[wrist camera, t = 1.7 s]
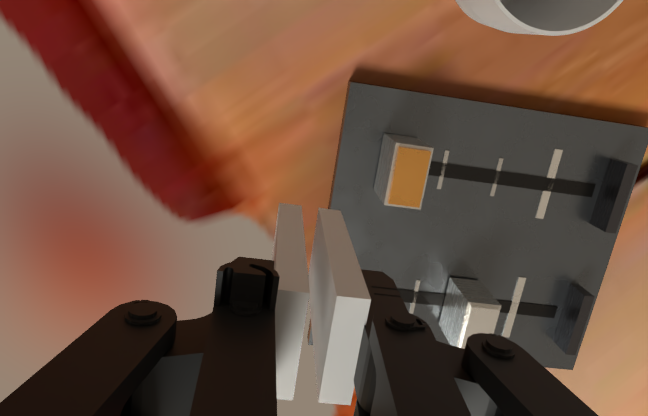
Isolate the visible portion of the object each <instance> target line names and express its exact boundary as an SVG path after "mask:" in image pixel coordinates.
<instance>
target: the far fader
mask: <svg viewBox="0 0 648 416" xmlns="http://www.w3.org/2000/svg"><path fill="white" fill-rule="evenodd" d="M500 309H501V304H500V303H499V302H498V301H497V300H496V299H495V297H494V296H493V295H492V294H491V293H490V292H489V290H488V289H487V288H486V287H485V286H484V285H483V283H482V282H481V281H479V280H470V279H461V278H452V277H450V279H449V283H448V287H447V291H446V296H445V300H444V304H443V308H442V312H441V316H440V321H439V326H440V327H441V329H442V331H443V333H444V335H445V336H446V338H447V340H448V342H449V343H450V345H452V346H456V347H459V348H463V349H465V346H466V342H467V338H468V337H469V336H471V335H472V334H477V333H486V334H489V333H492V334H494V331H495V327H496V324H497V320H498V317H499V313H500Z"/></svg>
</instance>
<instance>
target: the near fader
mask: <svg viewBox="0 0 648 416" xmlns="http://www.w3.org/2000/svg"><path fill="white" fill-rule="evenodd" d="M433 149H434V148H433V147H431V146H430V145H428V144H427V143H425V142H423V141H422V140H420V139H419V138H415V137H408V136H401V135H394V134H387V133H384V135H383V141H382V146H381V151H380V157H379V162H378V168H377V173H376V178H375V184H374V191H375V192H376V194H377V195H378V197H379V198H380V200H381V201H382V203H383V205H387V206H395V207H403V208H411V209H418V210H421V206H422V201H423V196H424V191H425V187H426V182H427V177H428V173H429V168H430V163H431V159H432V154H433Z"/></svg>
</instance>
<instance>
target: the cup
mask: <svg viewBox="0 0 648 416" xmlns="http://www.w3.org/2000/svg"><path fill="white" fill-rule="evenodd" d="M455 1H456V2H457V4H458V5H459V6H460V8H461V9H462V10H463V11H464V12H465V13H466V14H467V15H468V16H469V17H470V18H472V19H473V20H475V21H477V22H479V23H481V24H484V25H487V26H490V27H493V28H495V29H498V30H501V31H504V32H509V33H519V34H536V35H553V36H557V35H567V34H572V33H576V32H579V31H582V30H584V29H587V28H589V27H591V26H593V25H595V24H596V23H598V22H600V21H601V20H603V19H604V18H605V17H607V16H608V15H609V14H610V13H611V12H612V11H614V10H615V9H616V8H617V7H618V6H619V4H620V3H621V2H622V1H623V0H455Z"/></svg>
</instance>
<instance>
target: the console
mask: <svg viewBox="0 0 648 416" xmlns="http://www.w3.org/2000/svg"><path fill="white" fill-rule="evenodd" d="M384 133H387V134H394V135H401V136H408V137H415V138H419V139H420V140H422V141H423V142H425V143H427V144H428V145H430V146H431V147H433V148H434V149H433V154H432V159H431V163H430V168H429V173H428V177H427V182H426V187H425V191H424V196H423V201H422V206H421V210H418V209H411V208H403V207H395V206H387V205H383V203H382V201H381V200H380V198H379V197H378V195H377V194H376V192H375V191H374V184H375V178H376V173H377V168H378V162H379V157H380V151H381V146H382V141H383V135H384ZM647 145H648V128H647V127H642V126H635V125H629V124H622V123H616V122H610V121H603V120H597V119H590V118H584V117H577V116H571V115H564V114H558V113H551V112H545V111H538V110H532V109H525V108H519V107H512V106H506V105H500V104H493V103H487V102H480V101H474V100H467V99H461V98H454V97H448V96H441V95H435V94H428V93H422V92H415V91H409V90H403V89H396V88H390V87H383V86H377V85H370V84H364V83H357V82H351V81H349V82H348V88H347V94H346V100H345V107H344V113H343V119H342V125H341V132H340V138H339V144H338V150H337V156H336V163H335V169H334V175H333V181H332V188H331V194H330V200H329V206H328V209H331V210H339V211H341V213H342V216H343V219H344V222H345V225H346V228H347V231H348V234H349V236H350V239H351V242H352V245H353V248H354V251H355V254H356V257H357V260H358V263H359V266H360V268H361V269H363V270H372V271H381V272H384V273H385V274H386V275H388V276H389V277H390V278H391V279H393V280H394V282H395V285H396V287H397V290H398V291H399V293H400V295H401V298H402V299H403V302H404V304H405V306H406V308H407V310H408V312H409V313H411V314H413V315H416V316H418V317H419V318H421V319H423V320H424V321H425V322H426V323H427V324H428V325H429V326H430V328H431V330H432V332H433V334H434V336H435V339H436V341H439V342H442V343H445V344H448V345H450V343H449V342H448V340H447V338H446V336H445V335H444V333H443V331H442V329H441V327H440V326H439V321H440V316H441V312H442V308H443V304H444V300H445V296H446V291H447V287H448V283H449V279H450V277H452V278H461V279H470V280H479V281H481V282H482V283H483V285H484V286H485V287H486V288H487V289H488V290H489V292H490V293H491V294H492V295H493V296H494V297H495V299H496V300H497V301H498V302H499V303H500V304H501V309H500V313H499V317H498V320H497V324H496V327H495V331H494V334H497V336H498V335H500V336H503V337H505V338H506V339H508V340H510V341H512V342H514V343H516V344H517V345H519V346H520V347H522V348H523V349H524V350H525V351H526V352H528V353H529V354H530V355H531V356H532V357H533V358H534V359H535V360H536V361H538V362H539V363H540V364H541V365H542V366H543V367H548V368H558V369H569V370H573V367H574V364H575V361H576V358H577V355H578V352H579V349H580V346H581V343H582V340H583V337H584V334H585V331H586V328H587V325H588V322H589V319H590V316H591V313H592V310H593V307H594V304H595V301H596V298H597V295H598V292H599V289H600V286H601V283H602V280H603V277H604V274H605V271H606V268H607V265H608V262H609V259H610V256H611V253H612V250H613V247H614V244H615V241H616V238H617V235H618V232H619V229H620V226H621V223H622V220H623V217H624V214H625V211H626V208H627V205H628V202H629V199H630V196H631V193H632V190H633V187H634V184H635V181H636V178H637V175H638V172H639V169H640V166H641V163H642V160H643V157H644V154H645V151H646V148H647ZM308 344H309V345H313V338H312V327H311V319H310V325H309V331H308Z"/></svg>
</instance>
